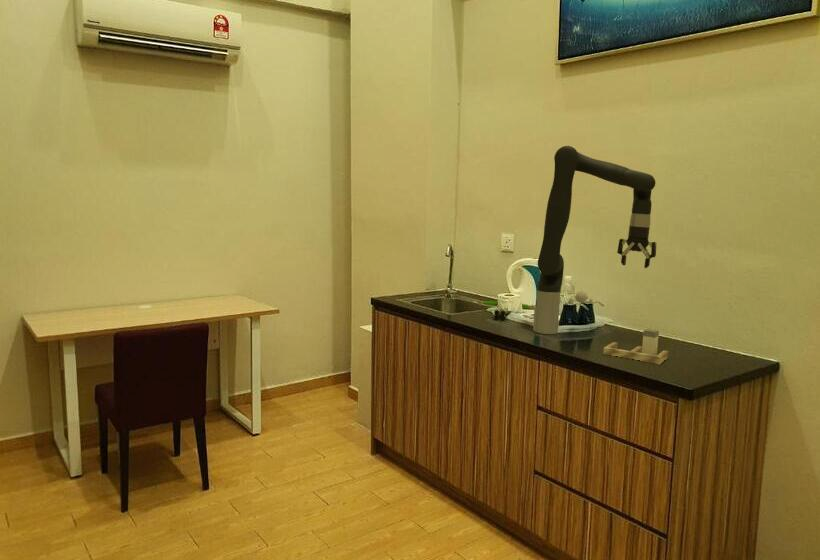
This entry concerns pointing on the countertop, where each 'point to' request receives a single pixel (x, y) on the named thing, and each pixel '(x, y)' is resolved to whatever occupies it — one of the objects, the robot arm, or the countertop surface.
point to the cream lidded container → (650, 341)
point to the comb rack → (635, 354)
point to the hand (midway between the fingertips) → (634, 266)
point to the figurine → (502, 311)
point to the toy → (581, 298)
